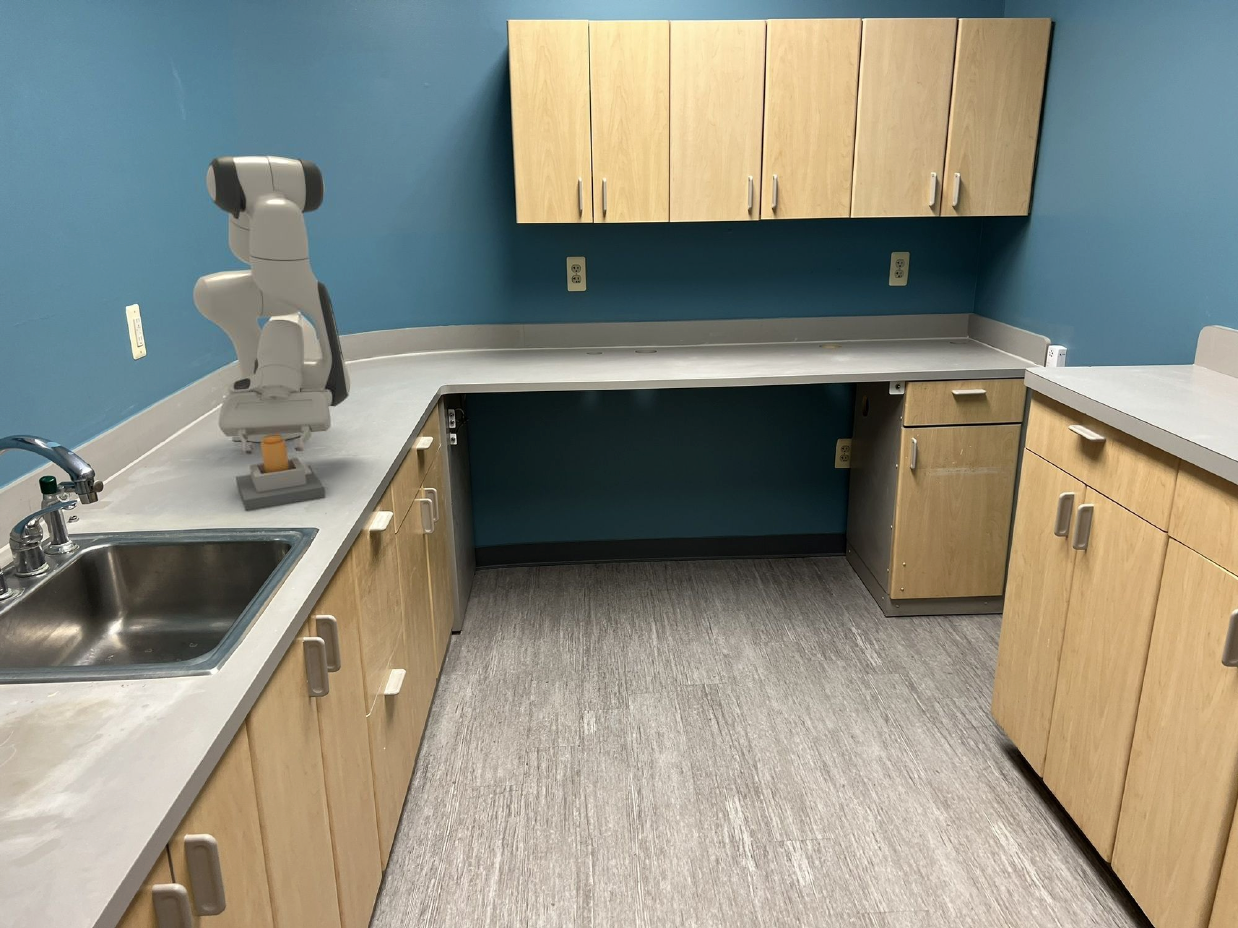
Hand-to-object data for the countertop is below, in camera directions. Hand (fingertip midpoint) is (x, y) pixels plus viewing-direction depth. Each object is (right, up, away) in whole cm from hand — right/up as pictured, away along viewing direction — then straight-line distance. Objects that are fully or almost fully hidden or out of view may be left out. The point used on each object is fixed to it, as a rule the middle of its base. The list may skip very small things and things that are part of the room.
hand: (273, 451), depth 164 cm
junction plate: (0, -8, +3) cm, 8 cm away
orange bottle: (0, -6, +3) cm, 6 cm away
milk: (-28, +18, +88) cm, 94 cm away
